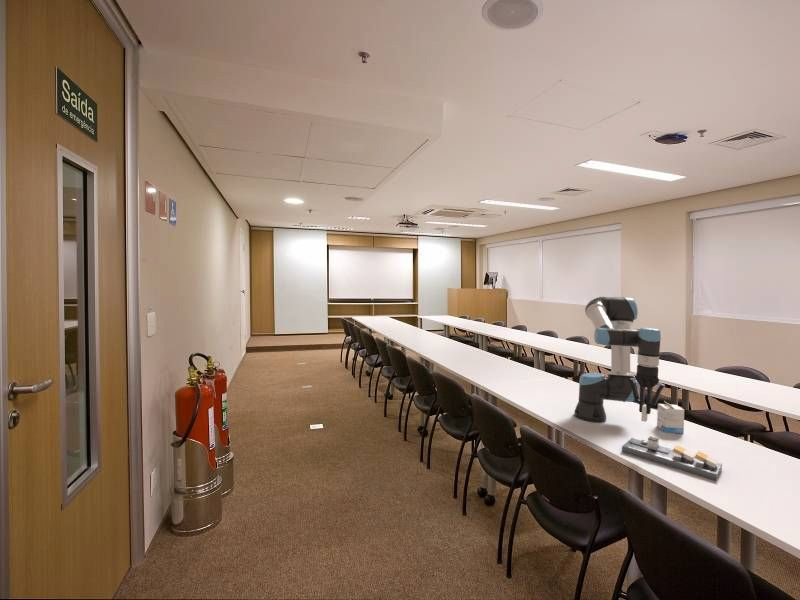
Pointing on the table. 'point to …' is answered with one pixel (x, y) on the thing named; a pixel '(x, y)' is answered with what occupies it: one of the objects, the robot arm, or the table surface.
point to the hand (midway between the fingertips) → (644, 420)
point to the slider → (653, 443)
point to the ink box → (670, 418)
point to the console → (671, 459)
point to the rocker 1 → (683, 452)
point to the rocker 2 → (706, 459)
